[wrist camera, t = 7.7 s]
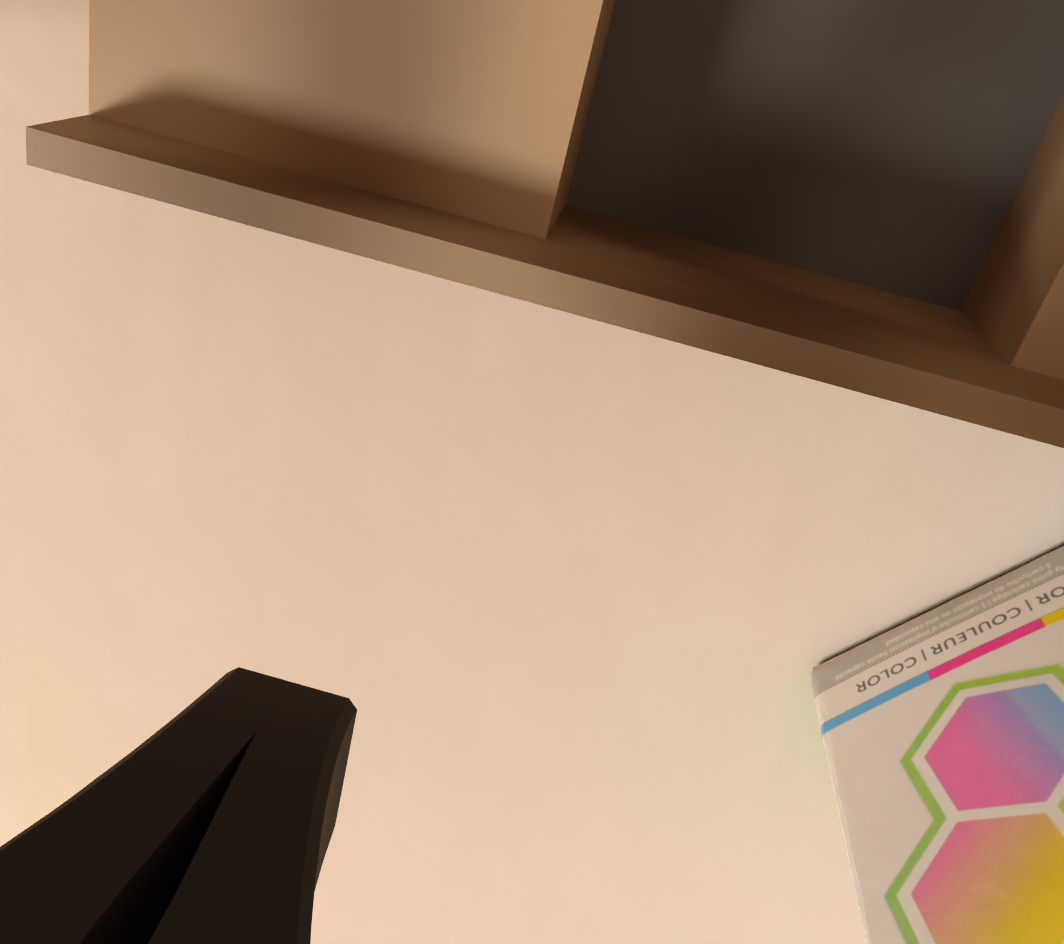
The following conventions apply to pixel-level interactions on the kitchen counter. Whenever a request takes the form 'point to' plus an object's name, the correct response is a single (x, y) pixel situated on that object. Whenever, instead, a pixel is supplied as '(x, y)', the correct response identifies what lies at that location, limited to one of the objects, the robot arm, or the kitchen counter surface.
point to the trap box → (639, 166)
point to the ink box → (956, 765)
